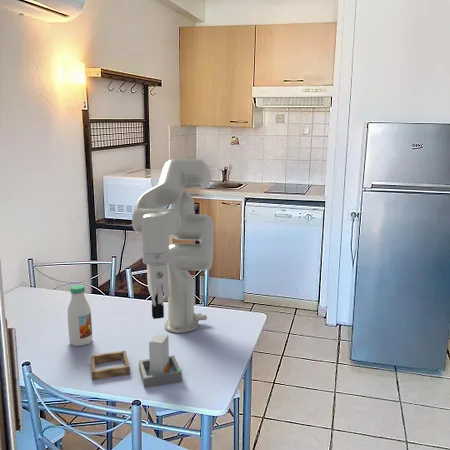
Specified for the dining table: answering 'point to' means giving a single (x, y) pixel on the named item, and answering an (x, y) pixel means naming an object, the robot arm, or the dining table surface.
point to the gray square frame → (160, 378)
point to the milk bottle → (79, 318)
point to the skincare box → (159, 354)
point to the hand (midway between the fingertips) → (158, 317)
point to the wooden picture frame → (109, 371)
